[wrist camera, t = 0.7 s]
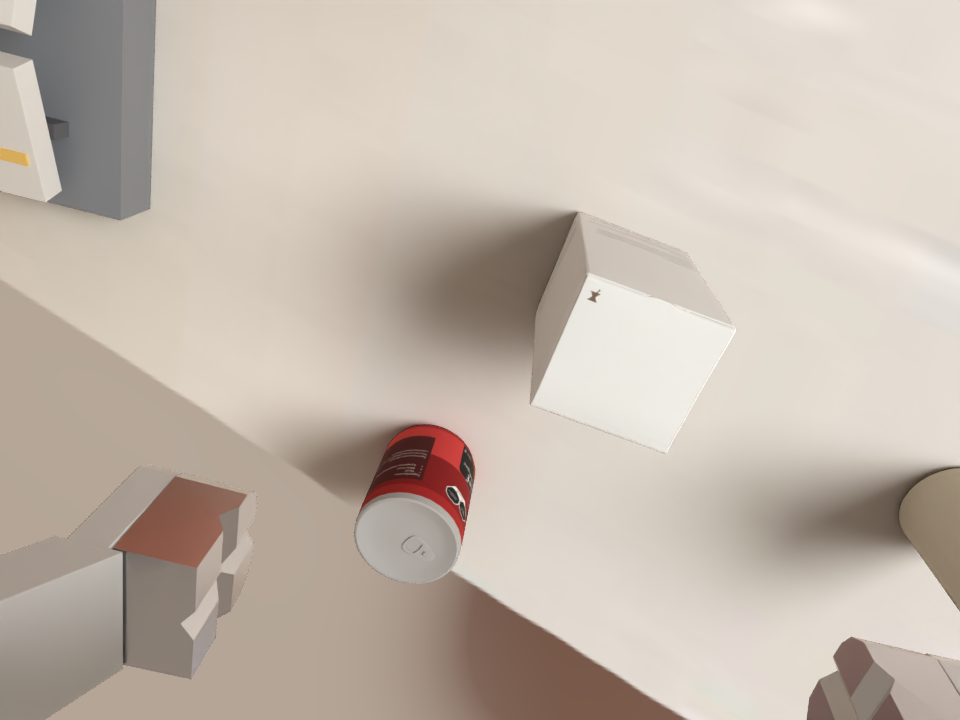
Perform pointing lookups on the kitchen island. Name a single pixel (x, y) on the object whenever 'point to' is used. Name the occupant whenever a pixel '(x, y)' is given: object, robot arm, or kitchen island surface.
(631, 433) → the supplement box
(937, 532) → the travel mug
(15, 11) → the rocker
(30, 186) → the block
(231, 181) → the kitchen island surface
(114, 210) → the console
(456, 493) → the canned food
